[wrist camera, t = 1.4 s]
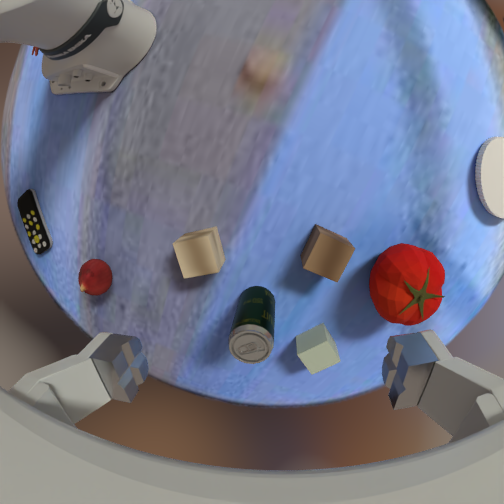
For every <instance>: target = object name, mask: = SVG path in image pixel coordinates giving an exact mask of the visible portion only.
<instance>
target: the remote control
mask: <svg viewBox="0 0 504 504" xmlns="http://www.w3.org/2000/svg"><path fill="white" fill-rule="evenodd" d="M18 208H19V211H20V215H21V218H22V221H23V223H24V226H25V229H26V232H27V235H28V237H29V240H30V242H31V245H32V247H33V250H34V252H35V253H36V254H39V255H40V254H42V253H43V252H45V251H47V250H48V249H49V248H51V247H52V244H53V241H52V237H51V235H50V232H49V230H48V227H47V224H46V222H45V219H44V216H43V213H42V211H41V208H40V205H39V202H38V199H37V196H36V193H35V191H34V190H33V189H29V190H27V191H26V192H25V193H24V194H23V195H22V196H21V197H20V198H19V199H18Z"/></svg>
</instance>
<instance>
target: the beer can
mask: <svg viewBox="0 0 504 504" xmlns="http://www.w3.org/2000/svg"><path fill="white" fill-rule="evenodd" d="M274 322H275V299H274V296H273V294H272V293H271V292H270V291H269V290H268V289H266V288H264V287H261V286H253V287H249V288H248V289H246V290H245V291H244V292H243V293H242V294H241V297H240V299H239V303H238V306H237V310H236V314H235V317H234V321H233V324H232V328H231V332H230V335H229V349H230V352H231V354H232V355H233V356H234V357H235V358H236V359H238V360H239V361H241V362H244V363H250V364H254V363H260V362H262V361H264V360H265V359H267V358H268V357H269V355H270V353H271V351H272V349H273V344H274Z"/></svg>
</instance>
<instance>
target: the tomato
mask: <svg viewBox="0 0 504 504" xmlns="http://www.w3.org/2000/svg"><path fill="white" fill-rule="evenodd" d="M444 279H445V270H444V268H443V266H442V264H441V263H440V262H439V260H438V259H437V258H436V257H435V255H434V254H433V253H432V252H430V251H427V250H425V249H422V248H418V247H416V246H413V245H409V244H403V243H401V244H397V245H394V246H391V247H389V248H388V249H386V250H385V251H384V252H383V253H381V254H380V255H379V257H378V259H377V261H376V262H375V264H374V266H373V268H372V270H371V273H370V281H369V288H370V296H371V298H372V301H373V303H374V305H375V308H376V310H377V311H378V313H379V314H380V316H382V317H383V318H384V319H386V320H387V321H389V322H391V323H400V324H403V325H415V324H419V323H421V322H423V321H424V320H426V319H428V318H429V317H430V316H431V315H433V314H434V313H435V312H436V311H437V309H438V308H439V306H440V303H441V301H442V297H445V296H442V288H441V287H442V285H443V284H444Z"/></svg>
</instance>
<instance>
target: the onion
mask: <svg viewBox="0 0 504 504" xmlns="http://www.w3.org/2000/svg"><path fill="white" fill-rule="evenodd" d="M111 283H112V271H111V269H110V267H109V266H108V265H107V263H106V262H104V261H102V260H99V259H91V260H89V261H87V262H86V263H84V264H83V265H82V267H81V269H80V272H79V285H80V290H81V292H83V291H84V292H85V293H87V294H90V295H101V294H103V293H105V292H106V291H107V290H108V289H109V287H110V286H111Z"/></svg>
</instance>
